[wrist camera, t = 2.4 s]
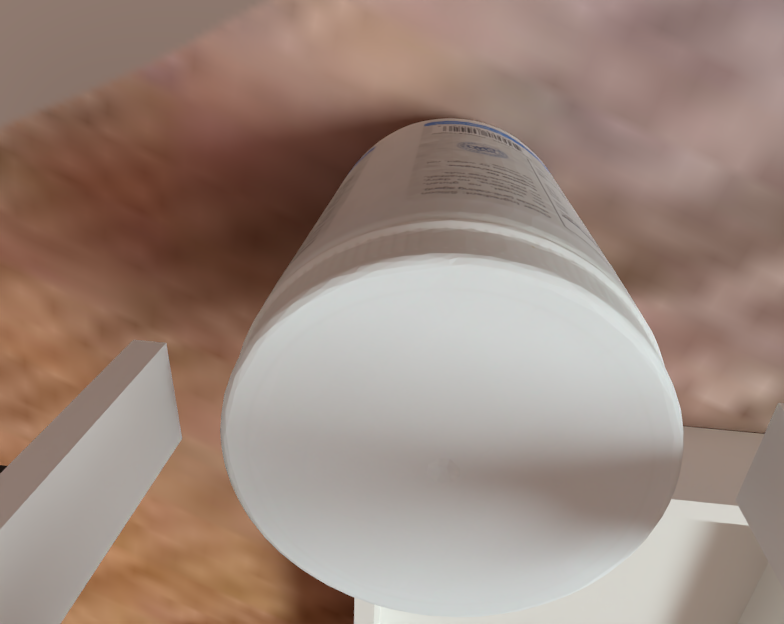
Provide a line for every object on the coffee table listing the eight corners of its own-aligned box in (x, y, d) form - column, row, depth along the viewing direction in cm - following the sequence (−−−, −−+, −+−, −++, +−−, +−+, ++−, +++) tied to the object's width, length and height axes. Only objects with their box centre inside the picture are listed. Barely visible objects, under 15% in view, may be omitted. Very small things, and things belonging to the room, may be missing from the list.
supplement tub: (402, 357, 28) (353, 664, 15) (293, 184, 24) (104, 385, 11) (600, 273, 25) (757, 564, 12) (507, 61, 21) (583, 144, 8)
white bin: (363, 662, 39) (351, 745, 35) (372, 396, 29) (356, 466, 24) (699, 704, 38) (731, 797, 33) (834, 440, 27) (906, 523, 23)
